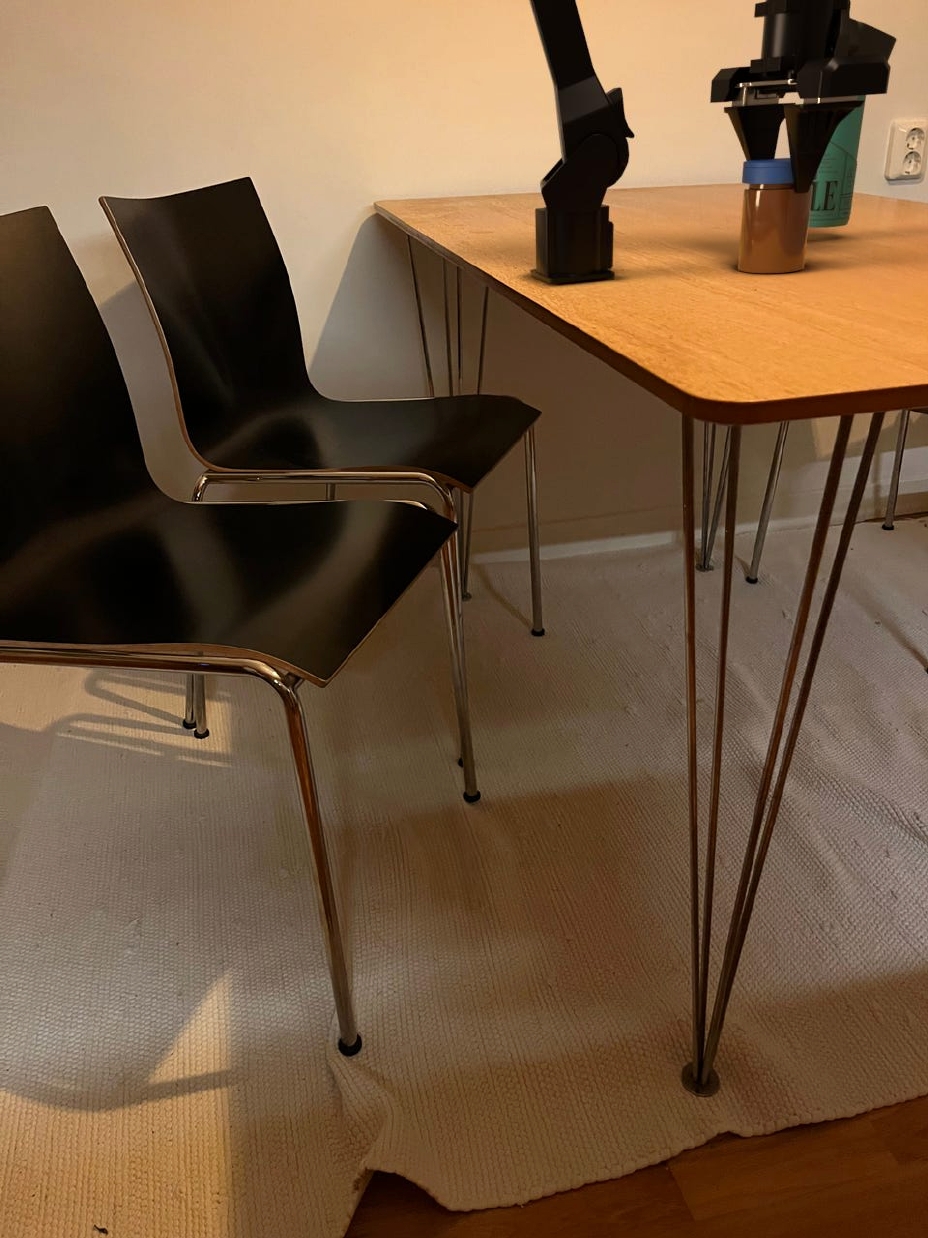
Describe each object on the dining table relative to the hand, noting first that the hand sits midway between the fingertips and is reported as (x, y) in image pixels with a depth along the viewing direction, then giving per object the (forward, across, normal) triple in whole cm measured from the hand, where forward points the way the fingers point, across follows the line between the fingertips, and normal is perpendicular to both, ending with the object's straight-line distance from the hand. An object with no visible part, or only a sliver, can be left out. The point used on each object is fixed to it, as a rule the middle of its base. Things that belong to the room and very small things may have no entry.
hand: (781, 190), depth 84 cm
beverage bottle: (+7, +14, -14) cm, 21 cm away
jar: (+7, 0, 0) cm, 7 cm away
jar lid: (-2, 0, 0) cm, 2 cm away
